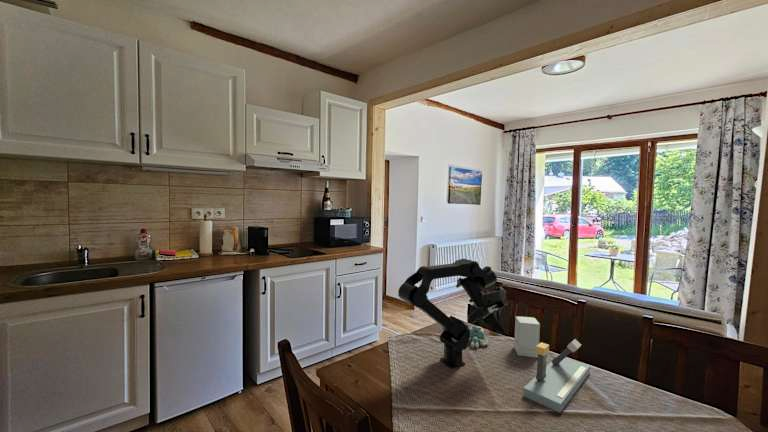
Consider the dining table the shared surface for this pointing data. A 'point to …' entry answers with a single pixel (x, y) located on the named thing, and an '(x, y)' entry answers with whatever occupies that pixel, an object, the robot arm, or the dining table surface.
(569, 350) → the on lever
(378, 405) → the dining table surface
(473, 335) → the stuffed animal
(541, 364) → the lever
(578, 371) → the switch panel
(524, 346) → the supplement box
